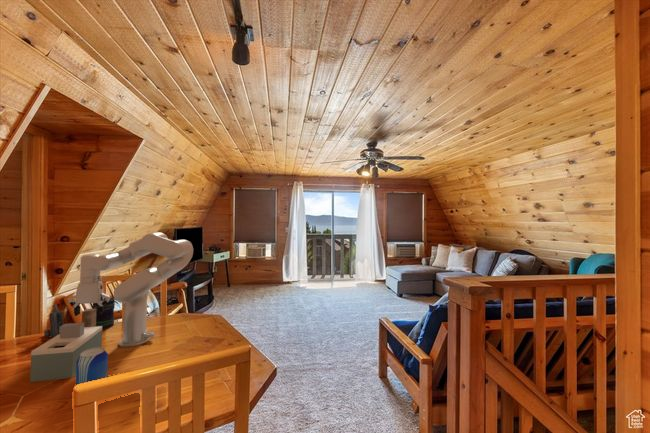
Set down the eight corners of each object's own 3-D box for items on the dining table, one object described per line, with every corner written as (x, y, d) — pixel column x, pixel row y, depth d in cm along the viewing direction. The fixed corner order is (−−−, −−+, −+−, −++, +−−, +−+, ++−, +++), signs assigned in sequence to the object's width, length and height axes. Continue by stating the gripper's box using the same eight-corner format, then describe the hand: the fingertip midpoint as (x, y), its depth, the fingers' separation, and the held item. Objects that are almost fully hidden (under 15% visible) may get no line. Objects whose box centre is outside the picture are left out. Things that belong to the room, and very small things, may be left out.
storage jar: (87, 328, 153) (88, 301, 154) (107, 322, 163) (107, 296, 163) (98, 331, 150) (99, 303, 150) (118, 325, 159) (119, 298, 159)
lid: (102, 329, 129) (102, 315, 129) (72, 351, 107) (73, 335, 107) (68, 331, 125) (68, 317, 125) (31, 355, 104) (31, 337, 104)
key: (95, 340, 139) (96, 308, 139) (90, 344, 135) (91, 311, 135) (86, 341, 138) (87, 308, 138) (81, 344, 134) (82, 311, 134)
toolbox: (101, 351, 129) (102, 329, 129) (71, 377, 107) (72, 351, 107) (67, 353, 125) (68, 331, 125) (30, 382, 104) (31, 355, 104)
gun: (47, 306, 146) (62, 303, 140) (50, 339, 144) (65, 337, 138) (40, 308, 144) (55, 304, 138) (43, 341, 142) (58, 339, 136)
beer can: (87, 390, 100) (89, 345, 100) (112, 389, 101) (113, 345, 101) (68, 406, 92) (69, 357, 92) (95, 405, 92) (96, 357, 93)
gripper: (114, 277, 143) (113, 310, 142) (73, 278, 138) (72, 313, 138) (106, 280, 135) (105, 316, 135) (64, 282, 131) (62, 318, 131)
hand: (89, 314), depth 137 cm, fingers open, 9 cm apart
